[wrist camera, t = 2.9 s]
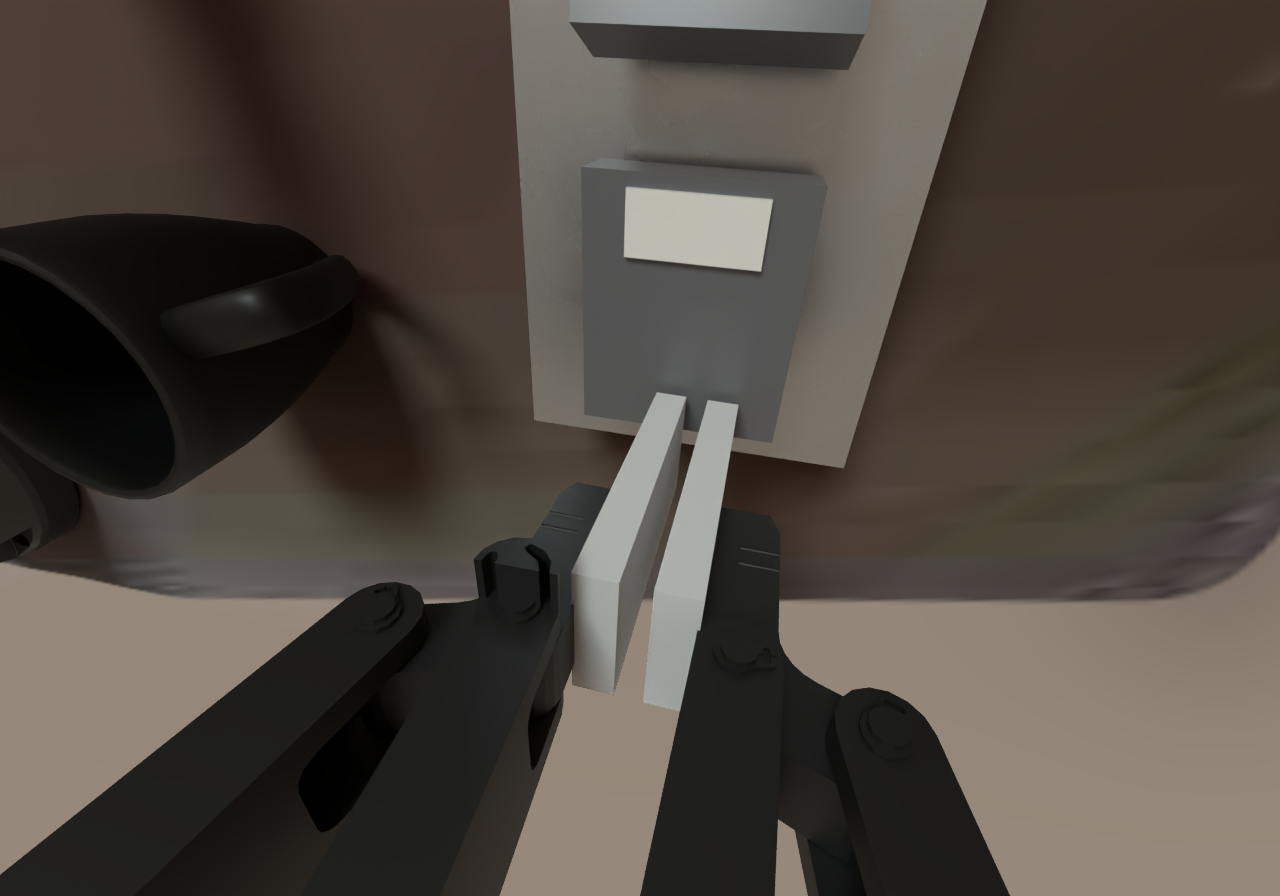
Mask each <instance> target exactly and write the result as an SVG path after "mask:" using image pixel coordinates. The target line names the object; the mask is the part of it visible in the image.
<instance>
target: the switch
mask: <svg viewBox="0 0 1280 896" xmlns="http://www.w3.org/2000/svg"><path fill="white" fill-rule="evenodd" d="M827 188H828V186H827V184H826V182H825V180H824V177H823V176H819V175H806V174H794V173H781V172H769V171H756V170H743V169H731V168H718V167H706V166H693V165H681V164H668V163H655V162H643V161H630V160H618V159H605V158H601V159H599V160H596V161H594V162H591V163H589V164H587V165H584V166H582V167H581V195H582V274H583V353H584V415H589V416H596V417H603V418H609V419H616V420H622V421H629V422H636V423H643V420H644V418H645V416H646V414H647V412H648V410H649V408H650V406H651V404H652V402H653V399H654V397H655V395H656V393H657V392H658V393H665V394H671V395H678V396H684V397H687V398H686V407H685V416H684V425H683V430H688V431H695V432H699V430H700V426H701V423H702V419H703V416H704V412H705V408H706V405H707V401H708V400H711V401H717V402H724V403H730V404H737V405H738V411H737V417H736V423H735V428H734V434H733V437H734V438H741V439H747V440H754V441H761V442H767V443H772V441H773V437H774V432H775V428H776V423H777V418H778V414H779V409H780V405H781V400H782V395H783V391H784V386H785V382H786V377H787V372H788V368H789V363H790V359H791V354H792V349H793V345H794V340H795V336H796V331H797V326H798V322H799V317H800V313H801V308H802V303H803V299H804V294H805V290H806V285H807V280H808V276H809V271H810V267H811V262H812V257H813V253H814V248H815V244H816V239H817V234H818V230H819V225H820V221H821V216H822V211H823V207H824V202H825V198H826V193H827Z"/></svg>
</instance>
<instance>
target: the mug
mask: <svg viewBox="0 0 1280 896" xmlns="http://www.w3.org/2000/svg"><path fill="white" fill-rule="evenodd" d="M358 291H359V278H358V275H357V272H356V270H355V268H354V267H353V265H352V264H351V262H350V261H349V260H347V259H346V258H344V257H343V256H339V255H333V256H329V257H327V256H326V255H325V254H324V253H323V252H322V251H321V250H320V249H319V248H318V247H317V246H316V245H315V244H313V243H312V242H311V241H310V240H308V239H307V238H305V237H303V236H302V235H300V234H298V233H297V232H295V231H292V230H290V229H287V228H284V227H281V226H277V225H269V224H252V223H245V222H239V221H231V220H222V219H214V218H205V217H196V216H184V215H170V214H130V213H126V214H105V215H86V216H79V217H72V218H65V219H58V220H51V221H45V222H38V223H32V224H26V225H20V226H14V227H7V228H1V229H0V432H2V433H3V434H4V435H5V436H7V437H8V438H9V439H10V440H12V441H13V442H14V443H15V444H17V445H18V446H19V447H20V448H21V449H23V450H24V451H25V452H26V453H28V454H29V455H31V456H32V457H34V458H35V459H37V460H38V461H40V462H41V463H43V464H44V465H46V466H47V467H49V468H50V469H52V470H53V471H55V472H57V473H59V474H61V475H63V476H65V477H67V478H69V479H70V480H72V481H74V482H76V483H78V484H80V485H82V486H85V487H88V488H90V489H93V490H96V491H98V492H101V493H104V494H106V495H111V496H116V497H121V498H126V499H152V498H156V497H159V496H162V495H165V494H168V493H172V492H174V491H175V490H177V489H178V488H180V487H181V486H183V485H185V484H186V483H188V482H189V481H191V480H192V479H194V478H196V477H197V476H199V475H200V474H202V473H203V472H205V471H206V470H208V469H210V468H211V467H213V466H214V465H216V464H217V463H219V462H220V461H222V460H224V459H225V458H227V457H228V456H230V455H231V454H233V453H234V452H236V451H237V450H239V449H240V448H242V447H243V446H245V445H246V444H248V443H249V442H250V441H251V440H252V439H254V438H255V437H256V436H257V435H258V434H260V433H261V432H262V431H263V430H264V429H266V428H267V427H268V426H269V425H270V424H272V423H273V422H274V421H275V420H276V419H277V418H279V417H280V416H281V415H282V414H283V413H284V412H285V411H286V410H287V409H288V408H289V407H290V406H291V405H292V404H293V403H294V402H295V401H296V400H297V399H298V398H299V397H300V396H301V395H302V394H303V393H304V392H305V391H306V389H307V388H308V387H309V386H310V385H311V384H312V383H313V381H314V380H315V379H316V378H317V376H318V375H319V374H320V372H321V371H322V370H323V368H324V367H325V366H326V364H327V363H328V362H329V360H330V359H331V357H332V356H333V355H334V353H335V352H336V351H337V349H338V348H339V347H340V346H341V345H342V344H343V343H344V342H345V340H346V339H347V337H348V335H349V333H350V329H351V325H352V305H351V300H352V299H353V297H354V296H355V295H356V293H357V292H358Z"/></svg>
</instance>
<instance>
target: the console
mask: <svg viewBox="0 0 1280 896" xmlns="http://www.w3.org/2000/svg"><path fill="white" fill-rule="evenodd" d="M986 2H987V0H871V5H870V11H869V16H868V21H867V26H866V31H865V35H864V37H863V39H862V42H861V44H860V46H859V48H858V50H857V52H856V54H855V57H854V59H853V61H852V63H851V65H850V67H849V70H835V69H816V68H797V67H777V66H758V65H738V64H719V63H699V62H680V61H660V60H641V59H621V58H602V57H593V56H592V54H591V53H590V51H589V50H588V49H587V47H586V46H585V44H584V43H583V41H582V40H581V39H580V37H579V36H578V34H577V33H576V31H575V30H574V29H573V27H572V26H571V24H570V23H569V11H570V0H509V3H510V19H511V36H512V53H513V69H514V86H515V103H516V120H517V136H518V153H519V170H520V186H521V203H522V220H523V236H524V253H525V270H526V286H527V303H528V320H529V336H530V353H531V370H532V386H533V403H534V420H537V421H543V422H550V423H556V424H563V425H569V426H575V427H582V428H588V429H595V430H601V431H608V432H614V433H620V434H627V435H633V436H636V435H637V433H638V431H639V429H640V427H641V425H642V423H636V422H629V421H622V420H616V419H609V418H603V417H596V416H589V415H584V353H583V274H582V195H581V167H582V166H584V165H587V164H589V163H591V162H594V161H596V160H599V159H601V158H605V159H618V160H630V161H643V162H655V163H668V164H681V165H693V166H706V167H718V168H731V169H743V170H756V171H769V172H781V173H794V174H806V175H819V176H823V177H824V180H825V182H826V184H827V186H828V188H827V193H826V198H825V202H824V207H823V211H822V216H821V221H820V225H819V230H818V234H817V239H816V244H815V248H814V253H813V257H812V262H811V267H810V271H809V276H808V280H807V285H806V290H805V294H804V299H803V303H802V308H801V313H800V317H799V322H798V326H797V331H796V336H795V340H794V345H793V349H792V354H791V359H790V363H789V368H788V372H787V377H786V382H785V386H784V391H783V395H782V400H781V405H780V409H779V414H778V418H777V423H776V428H775V432H774V437H773V441H772V443H767V442H761V441H754V440H747V439H741V438H734V437H733V440H732V446H731V451H736V452H742V453H749V454H755V455H762V456H768V457H775V458H781V459H787V460H794V461H800V462H807V463H813V464H820V465H826V466H832V467H839V468H844V466H845V462H846V459H847V456H848V453H849V449H850V446H851V443H852V439H853V436H854V433H855V430H856V426H857V423H858V420H859V417H860V413H861V410H862V407H863V404H864V400H865V397H866V394H867V391H868V387H869V384H870V381H871V377H872V374H873V371H874V368H875V364H876V361H877V358H878V355H879V351H880V348H881V345H882V342H883V338H884V335H885V332H886V328H887V325H888V322H889V319H890V315H891V312H892V309H893V306H894V302H895V299H896V296H897V293H898V289H899V286H900V283H901V280H902V276H903V273H904V270H905V266H906V263H907V260H908V257H909V253H910V250H911V247H912V244H913V240H914V237H915V234H916V231H917V227H918V224H919V221H920V217H921V214H922V211H923V208H924V204H925V201H926V198H927V195H928V191H929V188H930V185H931V182H932V178H933V175H934V172H935V169H936V165H937V162H938V159H939V155H940V152H941V149H942V146H943V142H944V139H945V136H946V133H947V129H948V126H949V123H950V120H951V116H952V113H953V110H954V107H955V103H956V100H957V97H958V93H959V90H960V87H961V84H962V80H963V77H964V74H965V71H966V67H967V64H968V61H969V58H970V54H971V51H972V48H973V44H974V41H975V38H976V35H977V31H978V28H979V25H980V22H981V18H982V15H983V12H984V9H985V5H986ZM698 433H699V432H695V431H688V430H683V434H682V442H681V443H685V444H691V445H695V444H696V440H697V437H698Z"/></svg>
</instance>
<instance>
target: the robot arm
mask: <svg viewBox="0 0 1280 896" xmlns="http://www.w3.org/2000/svg"><path fill="white" fill-rule="evenodd" d="M686 398H687V397H684V396H678V395H671V394H665V393H658V392H657V393H656V395H655V397H654V399H653V402H652V404H651V406H650V408H649V410H648V412H647V414H646V416H645V418H644V420H643V423H642V425H641V427H640V429H639V431H638V433H637V435H636V437H635V439H634V441H633V444H632V446H631V448H630V450H629V452H628V454H627V456H626V458H625V460H624V462H623V465H622V467H621V469H620V471H619V473H618V475H617V477H616V479H615V481H614V483H613V486H612V488H611V489H609V488H603V487H598V486H592V485H587V484H581V483H576V484H574V485H573V486H571V487H570V488H569V489H567V490H566V491H564V492H563V493H561V494H560V495H559V496H558V498H557V500H556V501H555V503H554V504H553V506H552V508H551V509H550V513H549V514H547V516H546V518H545V519H544V521H543V523H542V526H541V527H540V528H539V529H538V531H537V533H536V534H535V536H534V538H533V539H531V538H511V539H507V540H502V541H498V542H496V543H494V544H492V545H490V546H488V547H486V548H484V549H483V550H482V551H481V552H480V553H479V554H478V555H477V556H476V557H475V558H474V565H475V572H476V579H477V587H478V594H479V598H478V599H475V600H472V601H465V602H457V603H438V604H424V602H423V599H422V596H421V594H420V592H418V591H417V590H416V589H414V588H413V587H412V586H410V585H406V584H402V583H398V582H391V583H379V584H376V585H373V586H369V587H366V588H363V589H361V590H359V591H358V592H356V593H355V594H353V595H351V596H350V597H348V598H346V599H345V600H344V601H343V602H341V603H340V604H339V605H338V606H336V607H335V608H334V609H333V610H331V611H330V612H329V613H328V614H326V615H325V616H324V617H323V618H321V619H320V620H319V621H318V622H316V623H315V624H314V625H313V626H311V627H310V628H309V629H308V630H306V631H305V632H304V633H303V634H301V635H300V636H299V637H297V638H296V639H295V640H294V641H293V642H291V643H290V644H289V645H287V646H286V647H285V648H284V649H282V650H281V651H280V652H279V653H277V654H276V655H275V656H274V657H272V658H271V659H270V660H269V661H267V662H266V663H265V664H264V665H262V666H261V667H260V668H259V669H257V670H256V671H255V672H254V673H252V674H251V675H250V676H249V677H247V678H246V679H245V680H244V681H242V682H241V683H240V684H239V685H237V686H236V687H235V688H234V689H232V690H231V691H230V692H229V693H227V694H226V695H225V696H224V697H222V698H221V699H220V700H219V701H217V702H216V703H215V704H214V705H212V706H211V707H210V708H209V709H207V710H206V711H205V712H204V713H202V714H201V715H200V716H199V717H197V718H196V719H195V720H193V721H192V722H191V723H190V724H188V725H187V726H186V727H185V728H184V729H182V730H181V731H180V732H179V733H177V734H176V735H175V736H173V737H172V738H171V739H170V740H169V741H167V742H166V743H165V744H163V745H162V746H161V747H160V748H158V749H157V750H156V751H155V752H153V753H152V754H151V755H150V756H148V757H147V758H146V759H145V760H143V761H142V762H141V763H140V764H138V765H137V766H136V767H135V768H133V769H132V770H131V771H130V772H128V773H127V774H126V775H125V776H123V777H122V778H121V779H120V780H118V781H117V782H116V783H115V784H113V785H112V786H111V787H110V788H108V789H107V790H106V791H105V792H103V793H102V794H101V795H100V796H98V797H97V798H96V799H95V800H93V801H92V802H91V803H89V804H88V805H87V806H86V807H84V808H83V809H82V810H81V811H80V812H78V813H77V814H76V815H74V816H73V817H72V818H71V819H69V820H68V821H67V822H66V823H65V824H63V825H62V826H61V827H59V828H58V829H57V830H56V831H54V832H53V833H52V834H51V835H49V836H48V837H47V838H46V839H44V840H43V841H42V842H41V843H39V844H38V845H37V846H36V847H34V848H33V849H32V850H31V851H29V852H28V853H27V854H26V855H24V856H23V857H22V858H21V859H19V860H18V861H17V862H16V863H14V864H13V865H12V866H11V867H9V868H8V869H7V870H6V871H4V872H3V873H2V874H1V875H0V896H499V895H500V892H501V890H502V886H503V884H504V881H505V878H506V875H507V872H508V869H509V866H510V863H511V860H512V858H513V855H514V852H515V849H516V846H517V843H518V840H519V837H520V834H521V831H522V828H523V826H524V822H525V820H526V817H527V814H528V811H529V808H530V805H531V802H532V799H533V796H534V793H535V790H536V788H537V785H538V782H539V779H540V776H541V773H542V770H543V767H544V764H545V761H546V759H547V756H548V753H549V750H550V747H551V744H552V741H553V738H554V735H555V733H556V730H557V726H558V724H559V721H560V718H561V715H562V708H563V690H564V688H565V685H566V683H567V680H568V678H569V675H570V673H571V670H572V684H573V685H575V686H579V687H583V688H587V689H591V690H595V691H599V692H603V693H607V694H611V695H614V692H615V689H616V685H617V682H618V678H619V675H620V672H621V669H622V665H623V662H624V658H625V655H626V652H627V649H628V645H629V642H630V639H631V635H632V632H633V629H634V625H635V622H636V619H637V616H638V612H639V609H640V606H641V602H642V599H643V596H644V592H645V589H646V586H647V582H648V579H649V576H650V572H651V569H652V566H653V562H654V559H655V556H656V553H657V549H658V546H659V543H660V539H661V536H662V533H663V529H664V526H665V523H666V519H667V516H668V513H669V509H670V506H671V503H672V499H673V496H674V493H675V489H676V486H677V478H678V469H679V460H680V451H681V442H682V434H683V425H684V416H685V407H686ZM737 411H738V405H737V404H730V403H724V402H717V401H711V400H708V401H707V405H706V408H705V412H704V416H703V419H702V423H701V426H700V430H699V433H698V437H697V440H696V444H695V447H694V451H693V455H692V458H691V462H690V465H689V469H688V472H687V476H686V479H685V483H684V486H683V490H682V494H681V497H680V501H679V504H678V508H677V511H676V515H675V518H674V522H673V525H672V529H671V533H670V536H669V540H668V543H667V547H666V550H665V554H664V557H663V561H662V564H661V568H660V572H659V575H658V579H657V582H656V586H655V589H654V597H653V607H652V608H653V609H652V618H651V629H650V638H649V648H648V658H647V668H646V679H645V689H644V699H643V702H644V703H648V704H652V705H656V706H660V707H664V708H668V709H673V710H676V711H680V713H679V718H678V723H677V728H676V732H675V737H674V741H673V746H672V751H671V755H670V760H669V764H668V769H667V774H666V778H665V783H664V788H663V792H662V797H661V802H660V806H659V811H658V816H657V820H656V825H655V830H654V834H653V839H652V843H651V849H650V853H649V857H648V862H647V866H646V871H645V877H644V880H643V885H642V890H641V894H640V896H775V873H776V850H777V827H778V819H779V820H780V821H782V822H783V823H785V824H786V825H788V826H789V827H791V828H792V829H794V830H795V833H796V838H797V843H798V848H799V853H800V858H801V863H802V868H803V873H804V878H805V883H806V888H807V893H808V896H1010V895H1009V893H1008V890H1007V888H1006V886H1005V884H1004V882H1003V879H1002V877H1001V875H1000V873H999V871H998V868H997V866H996V864H995V862H994V860H993V858H992V855H991V853H990V851H989V849H988V847H987V844H986V842H985V840H984V838H983V836H982V834H981V831H980V829H979V827H978V825H977V823H976V820H975V818H974V816H973V814H972V812H971V810H970V807H969V805H968V803H967V801H966V798H965V796H964V794H963V792H962V790H961V787H960V785H959V783H958V781H957V779H956V777H955V774H954V772H953V770H952V768H951V766H950V763H949V761H948V759H947V757H946V755H945V752H944V750H943V748H942V746H941V744H940V742H939V739H938V737H937V735H936V734H935V732H934V731H933V729H932V727H931V726H930V724H929V723H928V721H927V720H926V718H925V717H924V716H923V715H922V714H921V713H920V712H919V711H917V710H916V709H915V708H914V707H913V706H912V705H911V704H910V703H908V702H907V701H905V700H903V699H901V698H900V697H898V696H896V695H894V694H892V693H890V692H888V691H883V690H878V689H874V688H862V689H855V690H852V691H850V692H849V693H848V694H846V695H845V696H841V695H839V694H837V693H835V692H834V691H831V690H830V689H827V688H825V687H824V686H822V685H820V684H818V683H816V682H815V681H813V680H812V679H810V678H809V677H807V676H805V675H804V674H803V673H802V672H800V671H799V670H798V669H797V668H796V667H795V666H794V665H793V664H792V663H791V661H790V660H789V659H788V657H787V656H786V655H785V653H784V651H783V648H782V646H781V644H780V640H779V632H778V628H779V627H778V626H779V625H778V624H779V622H778V621H779V569H780V557H779V555H780V534H779V532H778V530H777V528H776V526H775V525H774V523H773V521H772V519H771V517H770V516H765V515H759V514H754V513H748V512H743V511H737V510H732V509H727V508H721V505H722V499H723V493H724V487H725V482H726V476H727V470H728V464H729V458H730V452H731V446H732V440H733V434H734V428H735V423H736V417H737ZM78 517H79V500H78V495H77V491H76V488H75V486H74V483H73V481H72V480H70V479H69V478H67V477H65V476H63V475H61V474H59V473H57V472H55V471H53V470H52V469H50V468H49V467H47V466H46V465H44V464H43V463H41V462H40V461H38V460H37V459H35V458H34V457H32V456H31V455H29V454H28V453H26V452H25V451H24V450H23V449H21V448H20V447H19V446H18V445H17V444H15V443H14V442H13V441H12V440H10V439H9V438H8V437H7V436H5V435H4V434H3V433H2V432H0V563H1V562H5V561H8V560H11V559H14V558H17V557H20V556H24V555H26V554H29V553H31V552H33V551H35V550H37V549H39V548H41V547H42V546H44V545H46V544H47V543H49V542H51V541H52V540H54V539H56V538H57V537H59V536H61V535H62V534H64V533H66V532H67V531H69V530H70V529H72V528H73V527H74V525H75V524H76V522H77V520H78Z"/></svg>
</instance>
